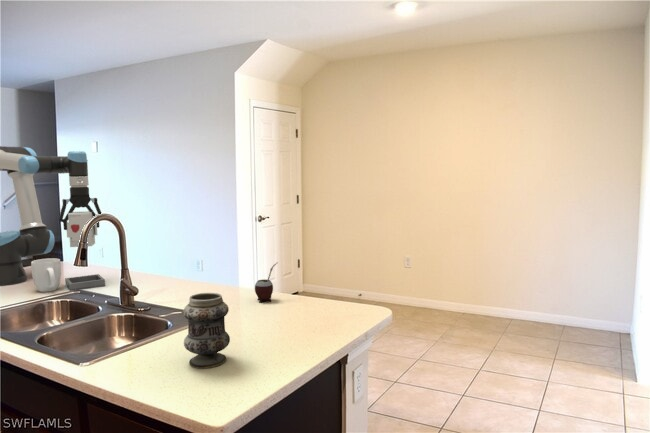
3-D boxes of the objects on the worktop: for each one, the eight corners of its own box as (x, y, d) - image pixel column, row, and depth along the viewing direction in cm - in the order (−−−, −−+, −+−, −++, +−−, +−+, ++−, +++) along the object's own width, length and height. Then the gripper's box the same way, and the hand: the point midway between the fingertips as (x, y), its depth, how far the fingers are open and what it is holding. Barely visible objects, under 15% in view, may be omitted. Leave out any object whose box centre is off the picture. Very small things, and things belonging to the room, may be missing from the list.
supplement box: (69, 247, 211) (67, 213, 209) (74, 244, 219) (71, 211, 218) (92, 246, 213) (89, 212, 212) (95, 243, 222) (93, 210, 220)
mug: (68, 291, 207) (66, 261, 206) (39, 296, 200) (37, 265, 199) (57, 285, 218) (56, 257, 217) (30, 290, 211) (28, 260, 209)
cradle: (65, 284, 220) (65, 278, 220) (99, 280, 228) (98, 274, 228) (70, 290, 209) (69, 284, 208) (105, 286, 217) (104, 279, 216)
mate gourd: (251, 302, 188) (250, 264, 187) (263, 297, 195) (262, 260, 194) (267, 304, 185) (266, 265, 183) (278, 299, 192) (278, 262, 190)
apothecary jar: (233, 352, 137) (231, 289, 135) (226, 369, 125) (224, 301, 123) (190, 353, 136) (188, 290, 135) (179, 371, 124) (176, 302, 123)
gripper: (50, 187, 204) (54, 239, 206) (108, 185, 217) (111, 234, 220) (48, 187, 210) (52, 237, 213) (105, 185, 223) (108, 233, 226)
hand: (82, 236), depth 216 cm, fingers closed on supplement box, 10 cm apart
